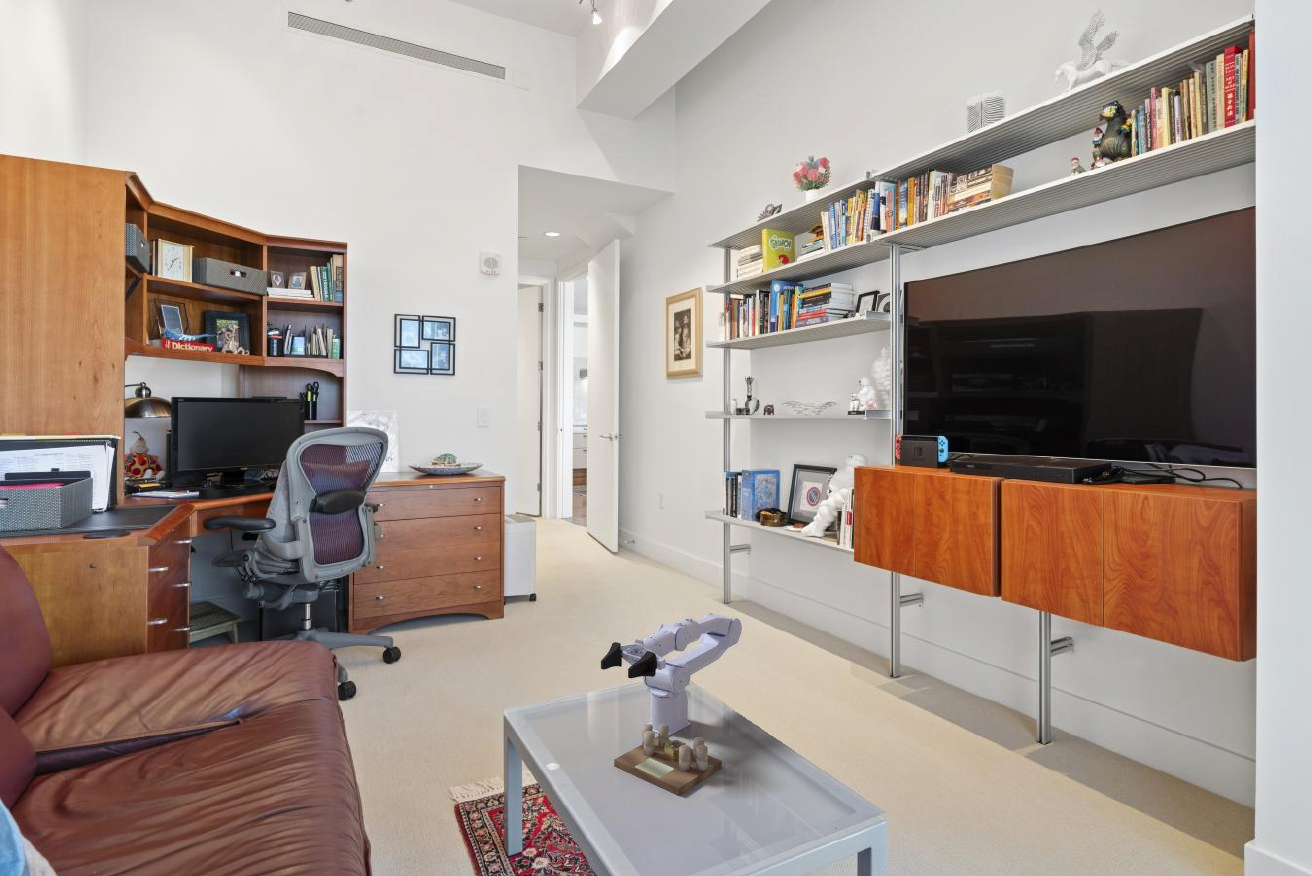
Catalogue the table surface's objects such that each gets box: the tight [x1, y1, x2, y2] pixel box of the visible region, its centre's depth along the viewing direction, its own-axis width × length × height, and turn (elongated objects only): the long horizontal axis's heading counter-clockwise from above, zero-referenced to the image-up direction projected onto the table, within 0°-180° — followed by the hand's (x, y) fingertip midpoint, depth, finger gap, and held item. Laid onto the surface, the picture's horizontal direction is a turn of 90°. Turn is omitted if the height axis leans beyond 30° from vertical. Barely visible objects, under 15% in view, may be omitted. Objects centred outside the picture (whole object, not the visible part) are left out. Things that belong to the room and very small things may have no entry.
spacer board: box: [613, 723, 723, 796], centre depth 152 cm, size 15×18×6 cm
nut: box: [664, 739, 687, 761], centre depth 154 cm, size 4×5×2 cm
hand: (615, 669), depth 155 cm, fingers open, 7 cm apart
